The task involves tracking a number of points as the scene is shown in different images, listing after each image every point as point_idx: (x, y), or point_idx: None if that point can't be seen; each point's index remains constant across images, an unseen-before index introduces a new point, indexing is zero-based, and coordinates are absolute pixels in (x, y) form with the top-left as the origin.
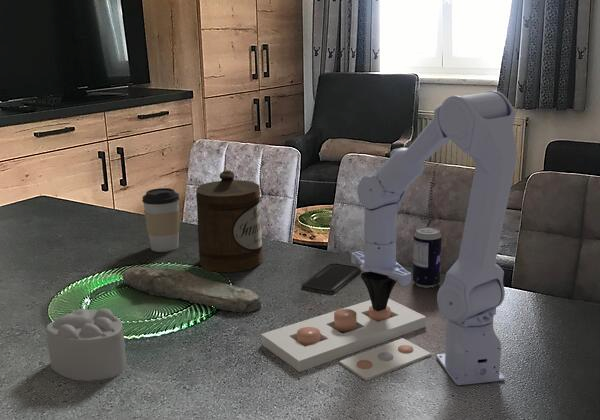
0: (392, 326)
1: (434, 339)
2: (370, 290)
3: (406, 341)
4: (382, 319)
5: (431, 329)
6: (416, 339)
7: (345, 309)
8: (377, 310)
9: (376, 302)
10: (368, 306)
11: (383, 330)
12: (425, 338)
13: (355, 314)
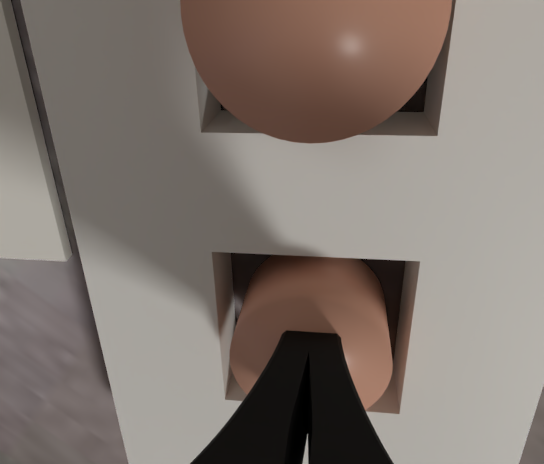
0: (107, 277)
1: (20, 363)
2: (331, 456)
3: (22, 249)
4: (243, 303)
5: (115, 417)
6: (53, 308)
7: (400, 89)
8: (284, 335)
9: (263, 374)
10: (457, 361)
11: (77, 194)
12: (45, 343)
13: (229, 98)
